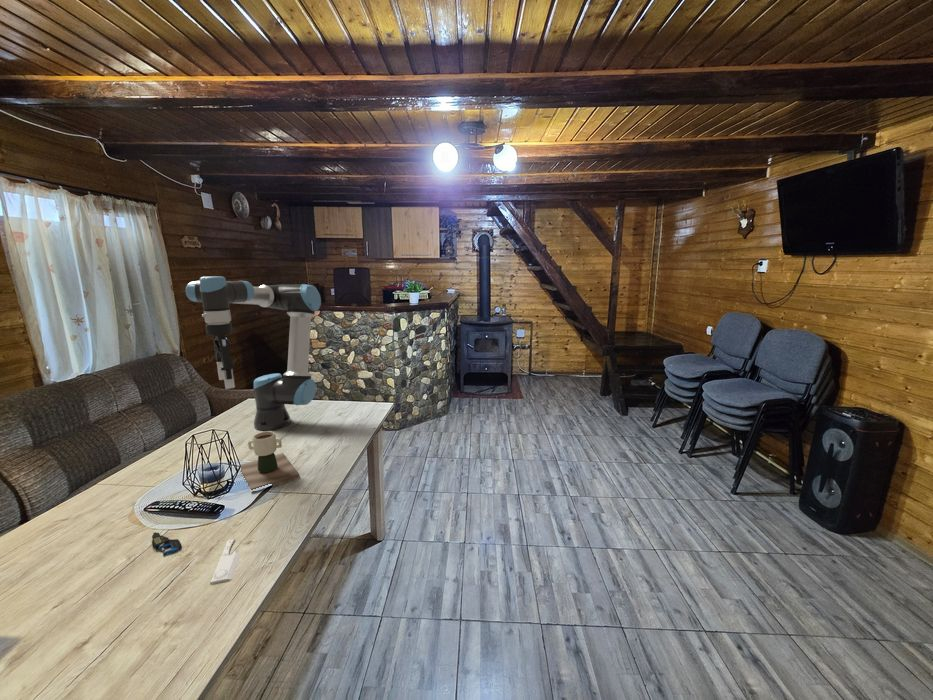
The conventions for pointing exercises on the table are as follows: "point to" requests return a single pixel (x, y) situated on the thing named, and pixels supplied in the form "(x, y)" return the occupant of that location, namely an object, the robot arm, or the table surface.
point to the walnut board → (269, 473)
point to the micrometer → (165, 543)
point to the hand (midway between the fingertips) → (226, 383)
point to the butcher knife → (226, 564)
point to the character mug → (265, 450)
